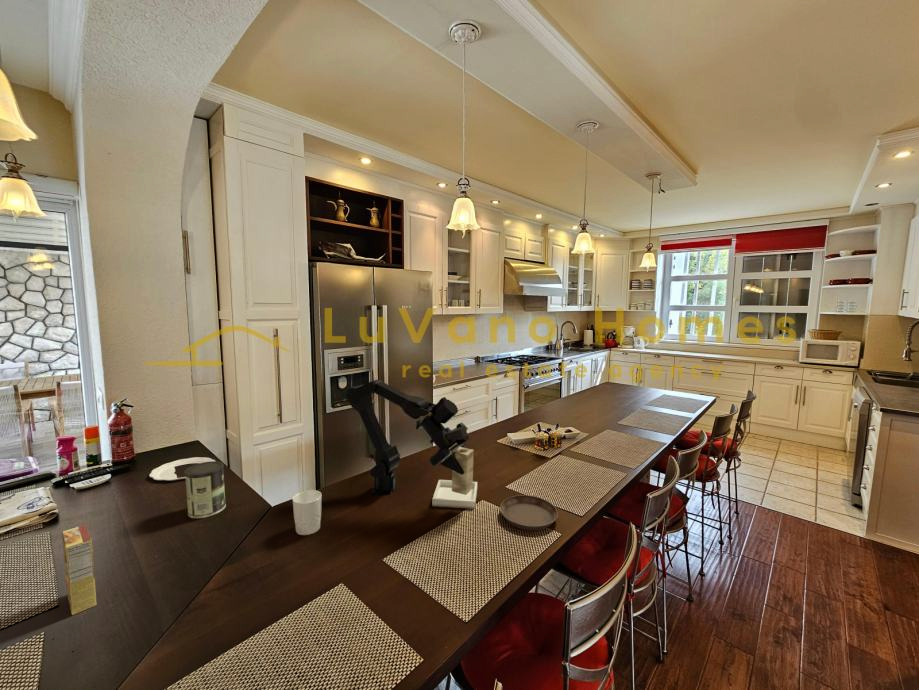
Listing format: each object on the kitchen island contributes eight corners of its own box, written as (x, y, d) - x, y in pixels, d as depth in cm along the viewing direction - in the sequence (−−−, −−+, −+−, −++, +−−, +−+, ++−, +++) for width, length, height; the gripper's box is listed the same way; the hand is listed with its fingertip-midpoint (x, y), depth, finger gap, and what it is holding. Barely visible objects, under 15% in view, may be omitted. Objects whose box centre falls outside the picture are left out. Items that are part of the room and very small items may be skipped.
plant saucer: (558, 538, 110) (559, 528, 110) (497, 530, 114) (497, 520, 114) (556, 507, 128) (556, 498, 127) (502, 500, 131) (502, 492, 131)
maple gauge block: (451, 491, 123) (453, 451, 122) (458, 485, 128) (459, 446, 126) (466, 495, 121) (467, 454, 120) (472, 488, 125) (473, 449, 124)
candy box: (66, 595, 87) (60, 531, 85) (92, 585, 90) (86, 523, 88) (71, 616, 81) (64, 548, 80) (98, 604, 84) (92, 538, 83)
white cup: (328, 524, 116) (327, 492, 115) (310, 539, 109) (308, 505, 108) (306, 519, 119) (305, 488, 118) (287, 533, 111) (286, 500, 110)
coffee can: (220, 498, 131) (217, 458, 129) (230, 509, 124) (227, 467, 122) (183, 510, 123) (180, 467, 122) (192, 522, 116) (189, 477, 115)
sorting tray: (432, 506, 127) (432, 498, 127) (438, 486, 141) (438, 479, 141) (474, 508, 126) (474, 501, 125) (477, 488, 139) (477, 481, 139)
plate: (225, 468, 155) (225, 464, 155) (164, 489, 137) (164, 484, 137) (200, 457, 166) (200, 453, 166) (140, 474, 148) (140, 470, 148)
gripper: (439, 425, 115) (472, 468, 112) (464, 410, 132) (494, 446, 128) (416, 446, 119) (447, 488, 116) (443, 428, 136) (471, 465, 133)
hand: (466, 470), depth 123 cm, fingers closed on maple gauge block, 5 cm apart
